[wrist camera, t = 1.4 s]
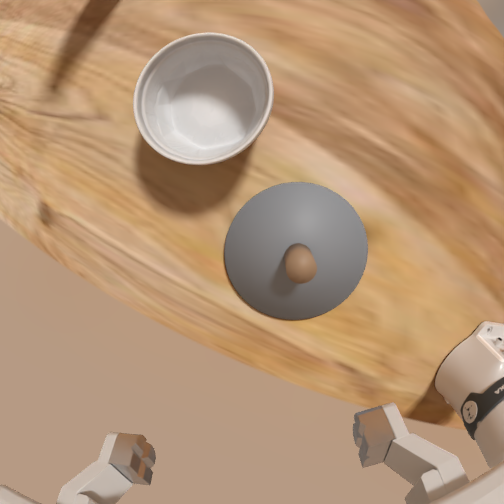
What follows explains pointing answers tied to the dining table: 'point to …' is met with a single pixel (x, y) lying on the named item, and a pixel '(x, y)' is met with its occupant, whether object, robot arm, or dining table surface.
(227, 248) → the lid
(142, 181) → the dining table surface
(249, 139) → the ramekin
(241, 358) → the dining table surface
